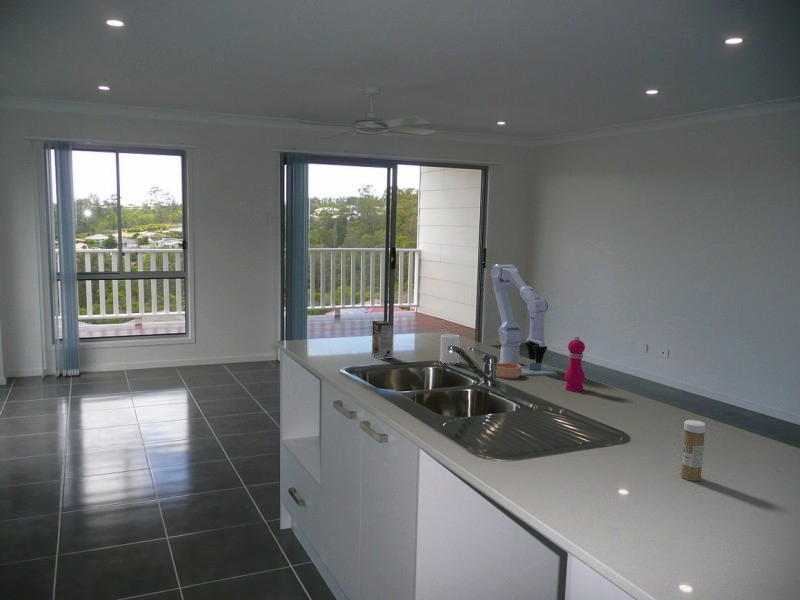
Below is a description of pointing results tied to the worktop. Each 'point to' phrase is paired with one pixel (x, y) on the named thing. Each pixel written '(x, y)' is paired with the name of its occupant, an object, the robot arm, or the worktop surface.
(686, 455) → the sprinkles bottle
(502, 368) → the bowl
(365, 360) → the worktop surface
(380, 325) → the coffee box
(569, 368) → the pepper mill
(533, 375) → the mat
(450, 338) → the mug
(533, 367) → the cover sheet
